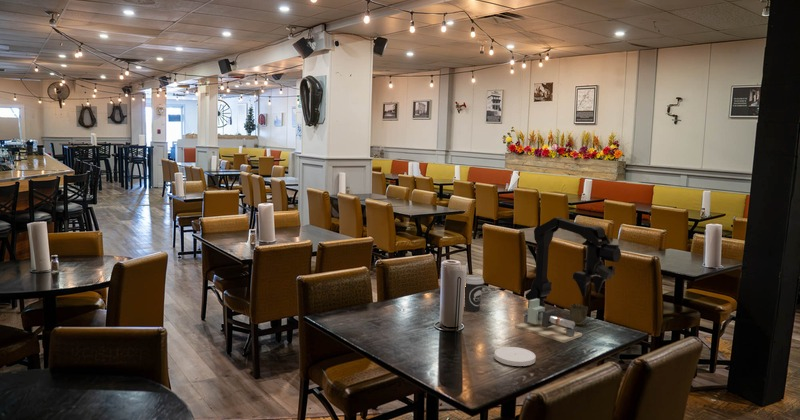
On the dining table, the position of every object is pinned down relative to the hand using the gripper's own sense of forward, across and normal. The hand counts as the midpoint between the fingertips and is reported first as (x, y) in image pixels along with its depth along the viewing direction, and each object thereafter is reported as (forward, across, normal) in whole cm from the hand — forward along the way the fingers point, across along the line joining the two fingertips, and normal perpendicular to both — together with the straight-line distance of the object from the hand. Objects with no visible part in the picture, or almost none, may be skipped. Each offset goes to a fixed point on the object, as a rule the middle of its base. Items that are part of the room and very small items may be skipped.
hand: (590, 294), depth 234 cm
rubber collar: (+12, -17, +7) cm, 22 cm away
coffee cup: (+15, -22, +45) cm, 52 cm away
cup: (+14, +1, +6) cm, 16 cm away
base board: (+14, -17, +7) cm, 23 cm away
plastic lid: (+15, -52, -7) cm, 55 cm away
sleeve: (+12, -18, +13) cm, 25 cm away
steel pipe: (+14, -17, +7) cm, 23 cm away
